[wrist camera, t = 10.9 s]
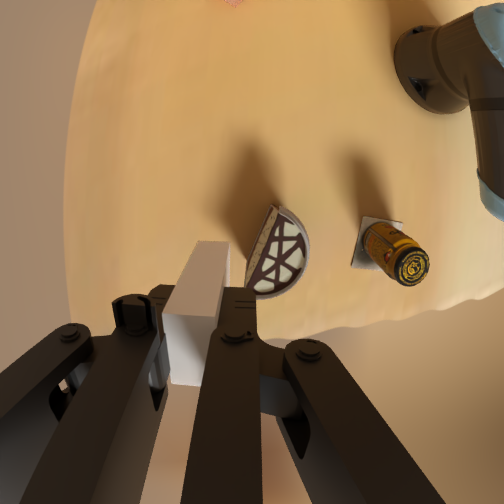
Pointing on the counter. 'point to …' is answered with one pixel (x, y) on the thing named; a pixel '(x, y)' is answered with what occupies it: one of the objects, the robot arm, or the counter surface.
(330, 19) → the counter surface
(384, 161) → the counter surface
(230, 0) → the domino
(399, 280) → the condiment
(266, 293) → the food container
